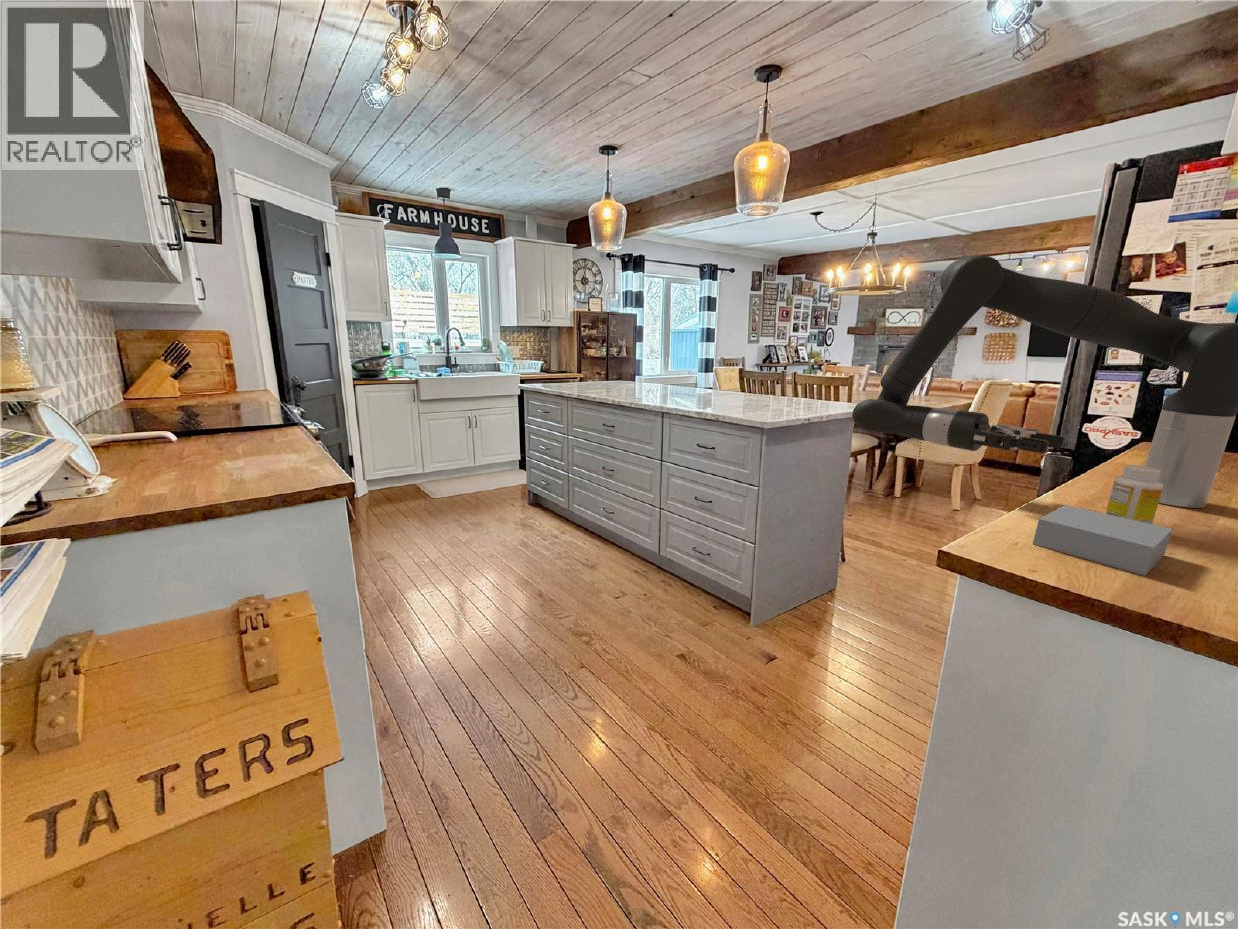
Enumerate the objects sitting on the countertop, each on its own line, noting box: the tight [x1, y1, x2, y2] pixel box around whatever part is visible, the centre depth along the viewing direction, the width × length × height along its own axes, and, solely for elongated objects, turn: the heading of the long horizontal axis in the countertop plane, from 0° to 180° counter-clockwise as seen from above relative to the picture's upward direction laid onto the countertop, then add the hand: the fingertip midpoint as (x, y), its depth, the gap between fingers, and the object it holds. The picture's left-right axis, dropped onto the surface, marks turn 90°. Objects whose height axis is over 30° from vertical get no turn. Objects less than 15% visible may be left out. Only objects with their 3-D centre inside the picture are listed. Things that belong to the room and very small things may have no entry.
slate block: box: [1032, 504, 1174, 577], centre depth 73 cm, size 12×12×4 cm
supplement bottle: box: [1104, 464, 1163, 524], centre depth 81 cm, size 6×6×10 cm
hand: (1055, 445), depth 88 cm, fingers open, 8 cm apart
